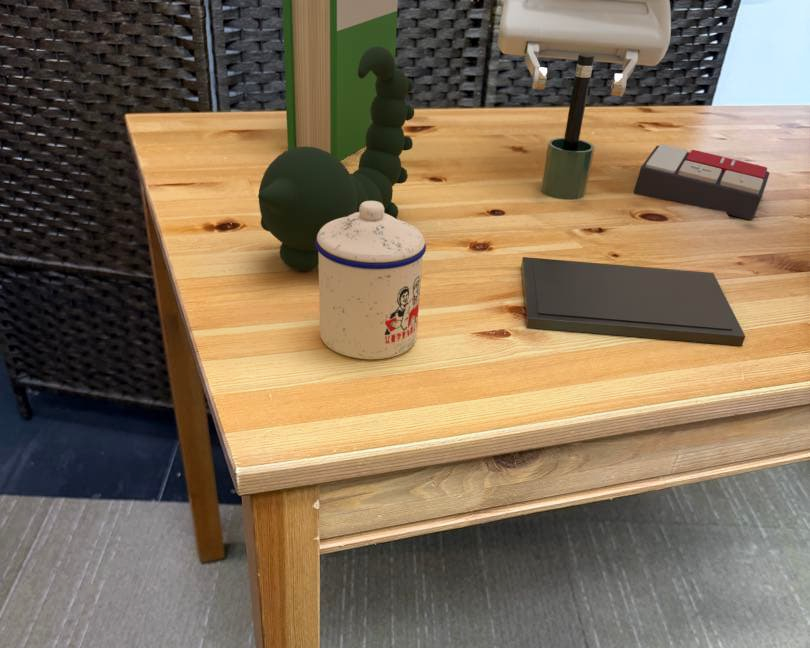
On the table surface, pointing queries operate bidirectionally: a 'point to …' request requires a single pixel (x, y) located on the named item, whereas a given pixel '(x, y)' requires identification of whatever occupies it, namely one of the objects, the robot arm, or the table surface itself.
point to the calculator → (702, 180)
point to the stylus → (578, 101)
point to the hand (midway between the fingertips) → (578, 89)
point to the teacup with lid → (369, 283)
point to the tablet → (627, 301)
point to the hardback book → (332, 70)
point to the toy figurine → (338, 171)
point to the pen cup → (566, 170)
